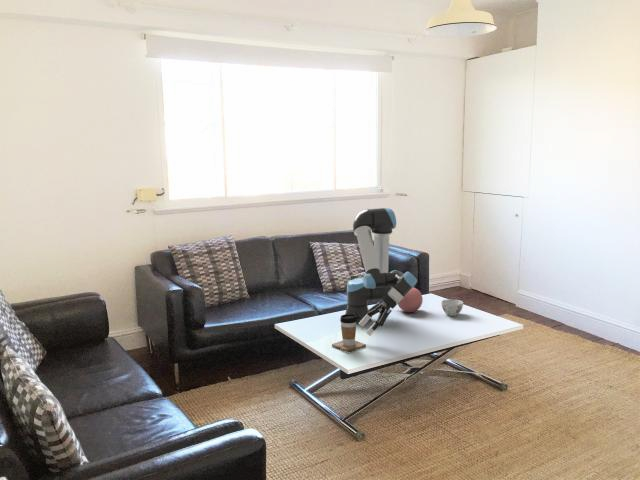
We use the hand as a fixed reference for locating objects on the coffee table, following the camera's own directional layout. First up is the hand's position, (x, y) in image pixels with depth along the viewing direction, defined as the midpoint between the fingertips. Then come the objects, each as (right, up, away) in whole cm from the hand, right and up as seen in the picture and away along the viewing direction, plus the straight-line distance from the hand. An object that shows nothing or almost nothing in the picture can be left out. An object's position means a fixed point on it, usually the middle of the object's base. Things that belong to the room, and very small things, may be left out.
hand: (363, 329), depth 270 cm
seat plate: (-8, -9, 0) cm, 12 cm away
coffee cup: (-8, -8, 0) cm, 11 cm away
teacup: (+55, +1, +46) cm, 72 cm away
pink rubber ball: (+30, +2, +56) cm, 64 cm away
